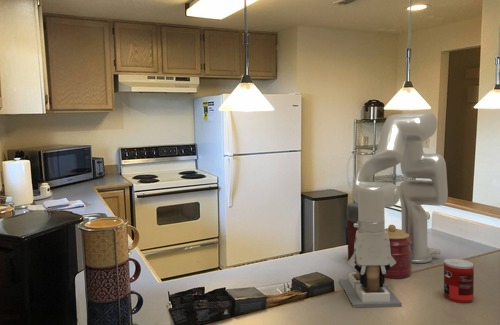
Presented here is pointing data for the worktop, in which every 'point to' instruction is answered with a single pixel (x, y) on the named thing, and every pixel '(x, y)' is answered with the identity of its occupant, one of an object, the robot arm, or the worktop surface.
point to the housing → (368, 294)
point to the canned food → (458, 280)
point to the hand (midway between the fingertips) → (372, 285)
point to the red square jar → (351, 227)
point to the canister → (399, 253)
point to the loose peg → (372, 278)
